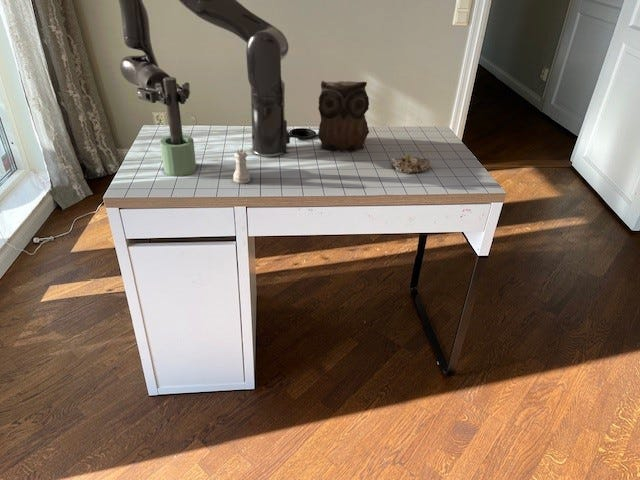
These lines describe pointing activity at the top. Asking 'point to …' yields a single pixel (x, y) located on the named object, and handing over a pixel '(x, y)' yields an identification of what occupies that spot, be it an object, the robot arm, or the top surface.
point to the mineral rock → (410, 164)
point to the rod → (173, 111)
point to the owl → (343, 115)
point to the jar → (178, 156)
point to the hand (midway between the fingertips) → (175, 100)
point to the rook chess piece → (241, 168)
